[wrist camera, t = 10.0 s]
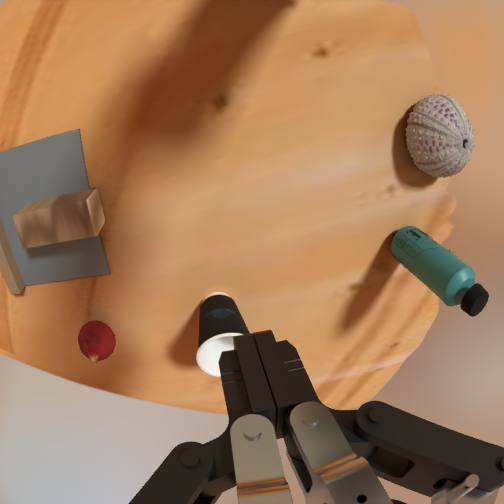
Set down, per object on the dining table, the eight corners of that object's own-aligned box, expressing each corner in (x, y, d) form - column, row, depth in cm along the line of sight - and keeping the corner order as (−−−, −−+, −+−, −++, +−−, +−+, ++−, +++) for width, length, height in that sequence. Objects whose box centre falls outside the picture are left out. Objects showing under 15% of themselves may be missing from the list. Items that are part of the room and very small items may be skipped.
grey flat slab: (-21, 161, 28) (-31, 165, 26) (79, 128, 31) (72, 131, 29) (17, 285, 38) (11, 294, 35) (110, 272, 40) (107, 282, 38)
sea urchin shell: (392, 95, 37) (429, 100, 30) (452, 90, 37) (488, 96, 31) (402, 180, 43) (435, 197, 36) (457, 164, 44) (490, 178, 37)
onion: (87, 336, 44) (77, 372, 38) (80, 309, 42) (68, 344, 35) (120, 338, 46) (114, 375, 39) (115, 310, 43) (108, 347, 36)
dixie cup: (222, 273, 44) (235, 323, 35) (253, 306, 48) (271, 356, 39) (180, 302, 45) (182, 356, 36) (212, 332, 49) (222, 385, 39)
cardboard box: (98, 187, 34) (27, 203, 33) (88, 199, 30) (12, 216, 29) (105, 221, 36) (35, 234, 35) (97, 236, 33) (22, 249, 31)
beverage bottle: (387, 261, 50) (461, 335, 33) (381, 230, 47) (465, 301, 29) (416, 245, 50) (492, 310, 33) (412, 213, 46) (498, 275, 29)
